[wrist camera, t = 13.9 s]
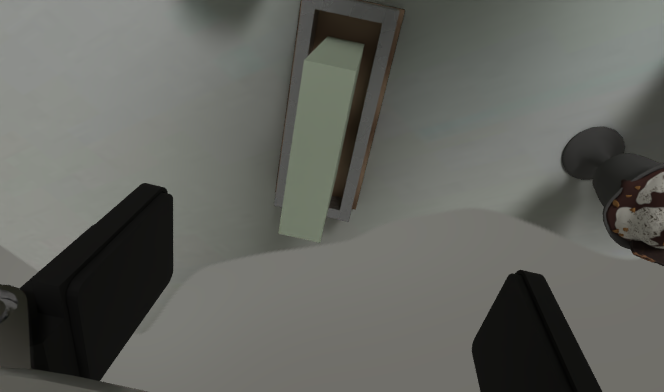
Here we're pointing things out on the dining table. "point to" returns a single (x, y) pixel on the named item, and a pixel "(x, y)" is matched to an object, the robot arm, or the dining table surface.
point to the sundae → (622, 189)
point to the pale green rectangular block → (319, 136)
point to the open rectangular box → (380, 43)
